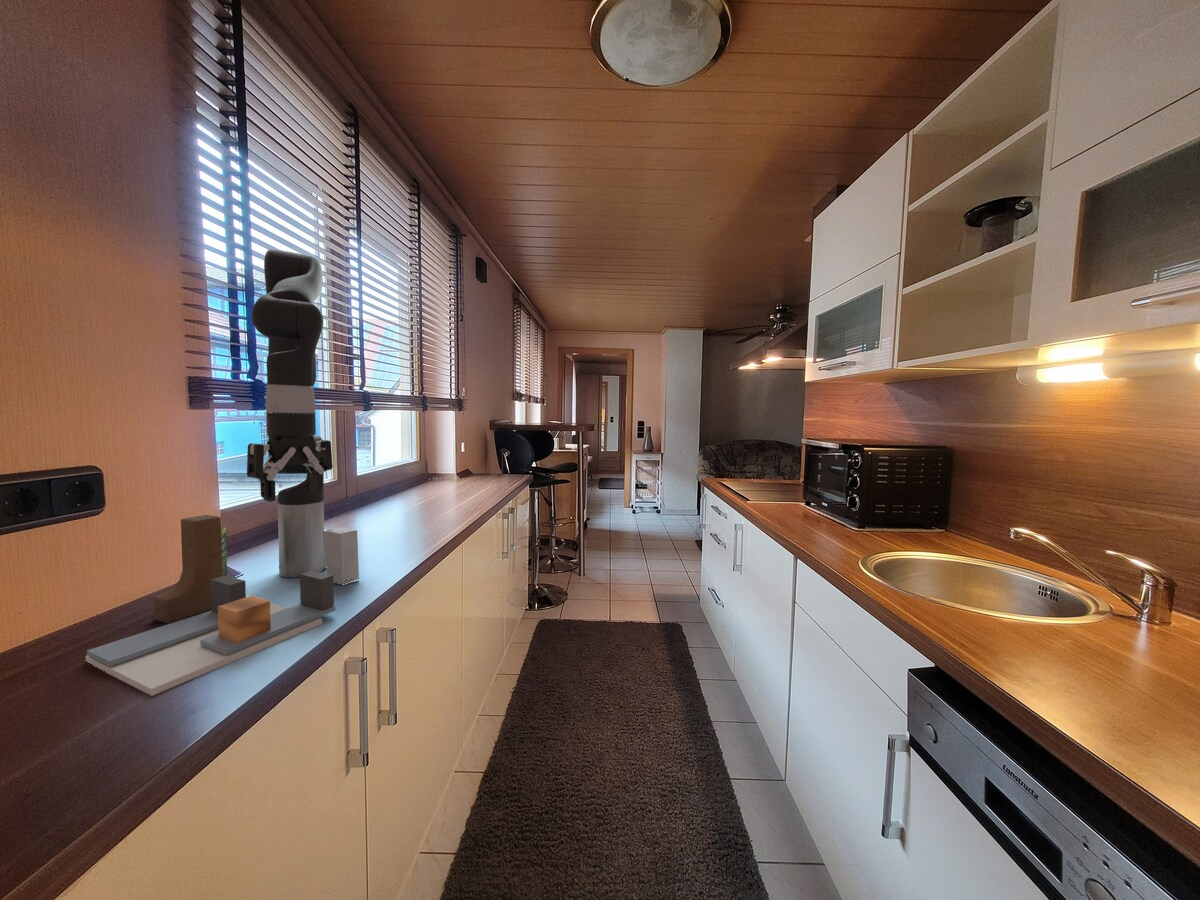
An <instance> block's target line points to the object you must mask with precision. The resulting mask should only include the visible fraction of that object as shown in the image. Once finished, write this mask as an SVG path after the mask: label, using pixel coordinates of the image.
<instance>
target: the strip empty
mask: <svg viewBox="0 0 1200 900" xmlns="http://www.w3.org/2000/svg"><path fill="white" fill-rule="evenodd" d="M246 588H247V587H246V580H244V579H241V578H238V577H237V578H236V577H233V576H229V575H227V576H222V577H218V578H214V579H211V610H208V611H205V612H202V613H199V614H196V615H193V616H190V617H187V618H184V619H181V620H178V621H175V622H172V623H169V624H165V625H162V626H158V627H155V628H153V629H149V630H146V631H142V632H140V633H137V634H134V635H130V636H128V637H124V638H121V639H118V640H115V641H112V642H108V643H107V644H103V645H100V646H97V647H94V648H91V649H87V650H86V656H89V657H91V658H93V659H95V660H97V661H99V662H101V663H103V664H105V665H107V666H109V667H111V666H113V665H116V664H119V663H122V662H125V661H127V660H130V659H133V658H136V657H139V656H142V655H144V654H147V653H150V652H153V651H156V650H158V649H161V648H164V647H167V646H170V645H172V644H175V643H178V642H181V641H184V640H187V639H189V638H192V637H195V636H198V635H201V634H203V633H206V632H209V631H212V630H215V629H218V606H220V605H224V604H227V603H230V602H233V601H236V600H239V599H243V598H246V597H247V593H246V592H247V591H246Z"/></svg>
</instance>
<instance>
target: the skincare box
mask: <svg viewBox="0 0 1200 900" xmlns="http://www.w3.org/2000/svg"><path fill="white" fill-rule="evenodd" d="M325 530H326V531H325V548H326V567H327V568H326V574H330V575H333V582H334V583H333V584H336V583H339V584H338V585H340V584H346V583H349V582H351V581H354V580H357V579H359V580H360V571H359V569H360V568H359V546H358V545H359V543H358V530H357V529H351V528H347V527H343V526H340V527H335V528H334V527H333V528H330V529H325Z"/></svg>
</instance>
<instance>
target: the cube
mask: <svg viewBox="0 0 1200 900" xmlns="http://www.w3.org/2000/svg"><path fill="white" fill-rule="evenodd" d="M270 603H271V601H270V600H269V599H265V598H261V597H258V596H255V595H248V596H246V598H243V599H239V600H236V601H233V602H230V603H227V604H224V605H220V606H218V630H219V636H220V637H223V638H225V639H228V640H231V641H233V642H236V643H238V642H241V641H243V640H246V639H248V638H251V637H253V636H256V635H258V634H261V633H263V632H266V631H269V630H271V622H270Z"/></svg>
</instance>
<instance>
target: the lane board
mask: <svg viewBox="0 0 1200 900" xmlns="http://www.w3.org/2000/svg"><path fill="white" fill-rule="evenodd" d="M287 608H288V607H285V606H282V605H278V604H276V603H272V602H270V615H271V614H273V613H276V612H279V611H282V610H284V609H287ZM322 624H323V618H322V617H319V618H316V619H314V620H311V621H309V622H306V623H304V624H301V625H299V626H297V627H294V628H292V629H289V630H287V631H284V632H282V633H279V634H277V635H275V636H272V637H270V638H267V639H265V640H262V641H260V642H257V643H255V644H252V645H250V646H248V647H245V648H243V649H240V650H238V651H235V652H233V653H230V654H228V655H225V654H222V653H220V652H217V651H215V650H212V649H209V648H207V647H204V646H202V645H200V640H202V639H205V638H208V637H210V636H213V635H216V634H219V630H218V629H215V630H212V631H209V632H206V633H203V634H201V635H198V636H195V637H192V638H189V639H187V640H184V641H181V642H178V643H175V644H172V645H170V646H167V647H164V648H161V649H158V650H156V651H153V652H150V653H147V654H144V655H142V656H139V657H136V658H133V659H130V660H127V661H125V662H122V663H119V664H116V665H113V666H111V667H109V666H107V665H105V664H103V663H101V662H99V661H97V660H95V659H93V658H91V657H89V656H87V655H85V662H86V661H87V662H88V663H90V664H92V665H93V667H94V666H95V668H96V667H97V668H96V669H98V668H99V669H98V670H100V669H101V670H100V671H102V670H103V671H102V672H104V671H105V672H104V673H106V674H108V675H110V676H112V677H113V678H116V679H117V680H119V681H122V682H124V683H126V684H128V685H130V686H132V687H133V688H135V689H138V690H139V691H142V692H143V693H145V694H147V695H150V696H151V697H153V696H155V695H158V694H160V693H162V692H164V691H167V690H169V689H172V688H174V687H176V686H179V685H181V684H183V683H185V682H188V681H190V680H192V679H195V678H197V677H200V676H202V675H204V674H207V673H209V672H212V671H214V670H216V669H219V668H221V667H223V666H226V665H227V664H228V665H229V664H230V663H232V662H235V661H237V660H240V659H242V658H244V657H247V656H249V655H252V654H254V653H257V652H259V651H260V650H263V649H265V648H268V647H270V646H273V645H275V644H277V643H279V642H282V641H284V640H287V639H289V638H292V637H294V636H296V635H299V634H302V633H304V632H305V631H308V630H310V629H313V628H315V627H318V626H321V625H322ZM88 663H87V664H88ZM90 664H89V665H90ZM92 665H91V666H92Z"/></svg>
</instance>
